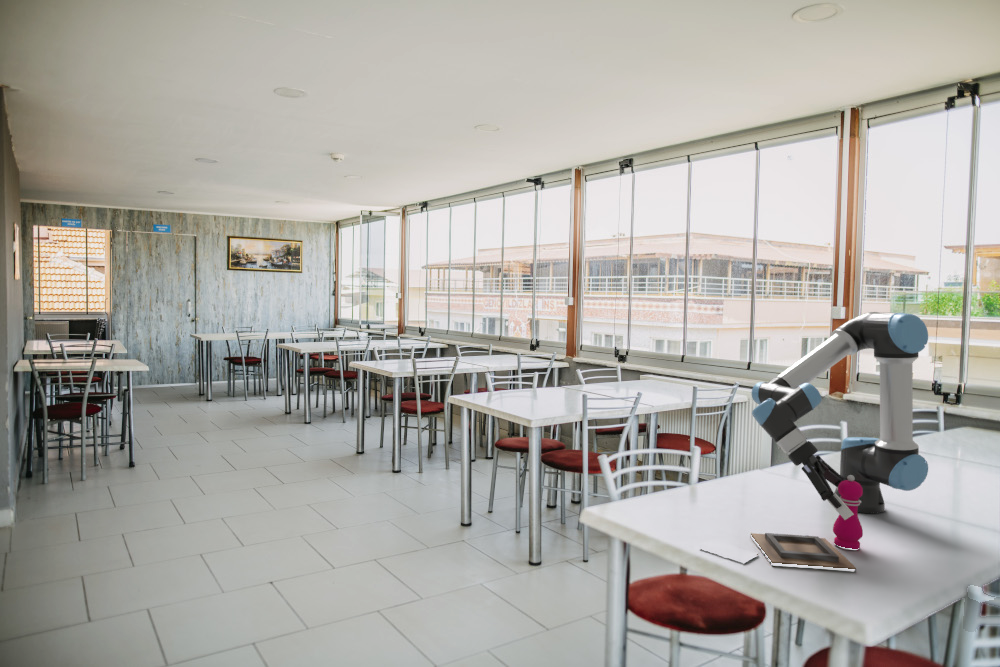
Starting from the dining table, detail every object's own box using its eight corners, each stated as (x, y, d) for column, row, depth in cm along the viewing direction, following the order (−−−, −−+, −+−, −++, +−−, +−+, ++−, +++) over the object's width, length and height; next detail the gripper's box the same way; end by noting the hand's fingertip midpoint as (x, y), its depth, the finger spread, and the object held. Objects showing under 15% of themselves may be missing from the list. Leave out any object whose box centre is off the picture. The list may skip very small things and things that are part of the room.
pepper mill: (828, 546, 177) (832, 474, 176) (837, 539, 182) (841, 470, 181) (856, 554, 172) (861, 480, 171) (865, 547, 177) (869, 475, 176)
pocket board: (824, 542, 179) (825, 533, 179) (855, 572, 160) (856, 562, 159) (750, 537, 182) (751, 528, 182) (772, 566, 162) (772, 556, 162)
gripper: (797, 447, 195) (849, 507, 187) (775, 463, 175) (833, 530, 167) (817, 433, 192) (871, 493, 184) (798, 447, 172) (858, 514, 164)
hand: (853, 511), depth 175 cm, fingers open, 13 cm apart
